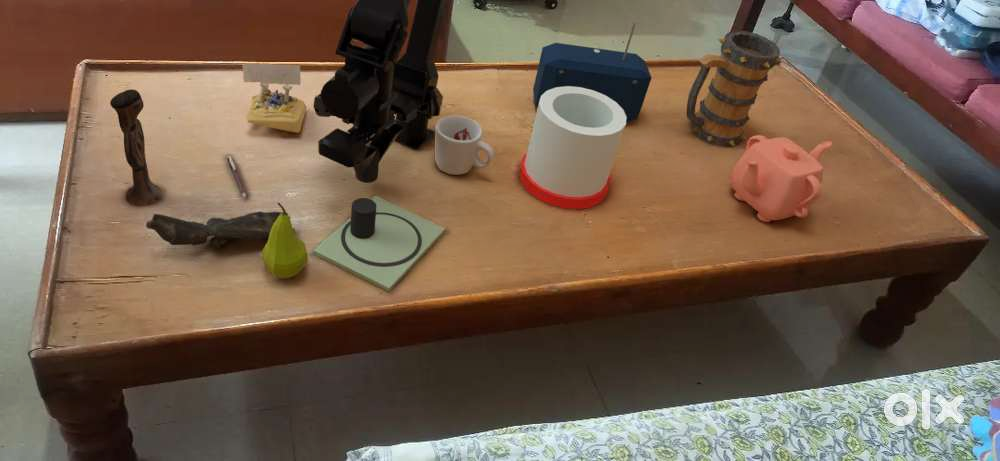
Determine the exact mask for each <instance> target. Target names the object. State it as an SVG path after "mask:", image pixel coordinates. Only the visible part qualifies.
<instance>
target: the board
mask: <svg viewBox="0 0 1000 461" xmlns="http://www.w3.org/2000/svg"><path fill="white" fill-rule="evenodd" d="M370 199H371V200H373V201H374V202H375V203H376V206H377V207H376V219H375V231H374V234H373V236H371V237H370V238H366V239H360V238H356V237H354V236H353V235H352V234H351V232H350V225H351V216H350V217H349V218H348V219H347V220H346V221H344V222H343V223H342V224H341V225H340V226H339V227H338V228H336V229H335V230H334V231H333V232H332V233H331V234H330V235H328V236H327V238H325V239H324V240H323V241H322V242H321V243H320V244H318V245H317V246H316V247H315V248H314V249H313V250H312V251H313V252H312V254H313V255H314V256H316V257H318V258H320V259H322V260H324V261H326V262H328V263H330V264H333V265H334V266H336V267H338V268H340V269H342V270H344V271H346V272H348V273H350V274H351V275H354V276H356V277H358V278H360V279H362V280H364V281H366V282H368V283H370V284H372V285H374V286H376V287H378V288H379V289H382V290H384V291H386V292H389V293H390V292H391V290H392V289H393V288H395V286H396V285H397V284H398V283H399V282H400V281H401V280H402V279H403V277H404V276H406V275H407V273H408V272H409V271H410V270H411V269H412V268H413V267H414V266H415V265H416V263H417V262H418V261H419V260H420V259H421V258H422V257H423V256H424V255H425V254H426V253H427V252H428V251H429V250H430V249H431V248H432V246H433V245H434V244H435V243H436V242H437V241H438V240H439V239H440V238H441V237H442V236H443V234H445V232H446V228H445V227H444V226H441V225H440V224H437V223H435V222H432V221H431V220H428V219H426V218H424V217H423V216H420V215H417V214H416V213H413V212H411V211H410V210H407V209H405V208H403V207H401V206H398V205H397V204H394V203H392V202H390V201H388V200H385V199H384V198H381V197H379V196H378V195H374V196H372V198H370Z"/></svg>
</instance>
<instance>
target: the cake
mask: <svg viewBox="0 0 1000 461" xmlns="http://www.w3.org/2000/svg"><path fill="white" fill-rule="evenodd" d="M242 73H243V74H242V77H243V83H260V85H259V86H260V87H261V88H260V91H259V92H258V94H256V95H253V96H251V103H250V111H249V113H247V115H246V121H247V123H250V124H254V125H258V126H263V127H268V128H272V129H276V130H281V131H286V132H290V133H297V134H298V133H300V132H301V129H302V126H303V122H304V119H305V115H306V111H307V105H306V103H305V102H304V100H301V99H300V98H299V99H298V97H295V96H292V95H290V91H291V90H292V89H293V86H295V85H301V65H300V64H290V65H288V64H274V63H271V64H259V63H258V64H257V63H256V64H254V63H242ZM274 84H275V85H282V89H283V90H284V93H283V92H281V91H280V92H279V89H276V90H275V91H272V90H271V89H269V85H274ZM168 119H171V117H170V116H169V117H168Z"/></svg>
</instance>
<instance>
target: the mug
mask: <svg viewBox="0 0 1000 461" xmlns="http://www.w3.org/2000/svg"><path fill="white" fill-rule="evenodd" d="M717 41H718V42H719V43H720V44H721V45H720V55H717V54H705V55H703V56H701V57H700V58H698V61H699V63H700V65H701V67H700V69H699V72H698V74H697V76H696V77H695V79H694V80H693V81H694V82H693V83H692V86H691V88H690V90H689V93H688V98H687V103H686V118H687V120H688V121H690V125H691V126H690V128H691V131H692V133H693V134H694V135H696V136H697V137H698V138H699V139H701V140H702V141H704V142H706V143H709V144H711V145H715V146H719V147H735V146H736V145H738V144H739V143H740V142H741V140H747V139H748V138H747V137H746V136H745V135H744V133H745V131H744V128H745V125H746V124H747V123H748V122H750V120H751V118H750V117H749V112H750V110H751V108H752V105H754V104H755V103H756V99H757V98H758V97H757V96H758V91H759V89H760V87H761V85H762V84H763V83H764V82H767V81H769V78H768V77H769V75H768V73H769V72H770V70H772V69H773V68H774V67H775V65H776V63H782V62H784V61H783V60H782V59H781V58H780V55H781V51H780V48H779V46H778V45H777V44H776V43H775V42H773V41H772V40H770V39H769V38H767V37H765V36H763V35H760V34H758V33H754V32H750V31H747V30H733V31H729V32H727V33H725V35H724V38H718V39H717ZM711 68H716V71H715V74H714V76H713V77H712V78H711V80H710V82H709V85H708V86H707V88H708V91H707V93H706V96H705V98H703V99H701V100H700V101H699V109H698V111H697V112H696V106H697V101H698V96H699V94H700V92H701V89H702V88H703V85H704V83H705V82H706V80H707V78H708V75H709V73H710V70H711Z"/></svg>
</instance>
